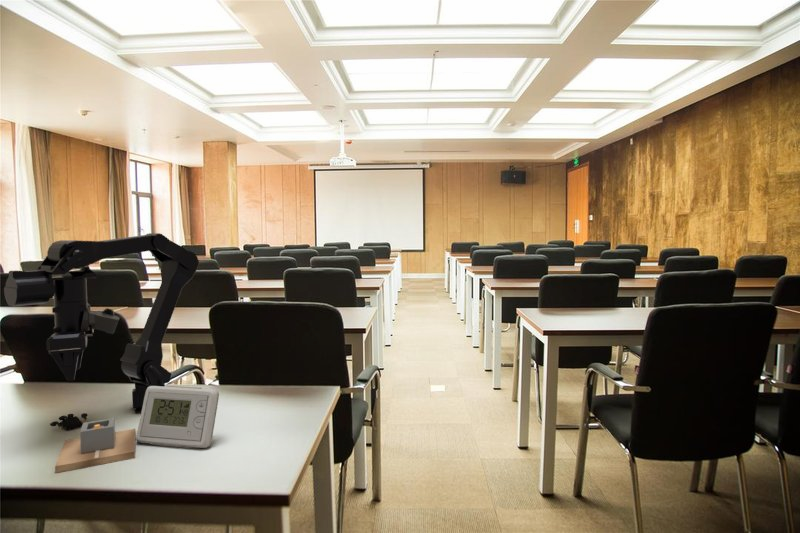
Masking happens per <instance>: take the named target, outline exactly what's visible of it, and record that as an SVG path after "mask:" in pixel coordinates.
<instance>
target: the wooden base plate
mask: <svg viewBox="0 0 800 533" xmlns="http://www.w3.org/2000/svg"><path fill="white" fill-rule="evenodd" d="M100 427H104V426H100ZM93 428H94V427H93ZM115 435H116V439H115V445H114V448H109V449H104V450H98V451H92V452H87V453H81V441H80V437H78V438H77V437H76V438H72V439H65V440H64V442H63V445H62V447H61V450H60V452H59V455H58V458H57V461H56V463H55V465H54V473H55V474H58V473H63V472H68V471H74V470H80V469H84V468H88V467H95V466H100V465H103V464H110V463H114V462H120V461H124V460H130V459H131V460H132V459H134V458H135V459H136V439H137V431H136V428H131V429H125V430H118V431H115Z"/></svg>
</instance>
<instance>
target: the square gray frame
mask: <svg viewBox="0 0 800 533" xmlns="http://www.w3.org/2000/svg"><path fill="white" fill-rule="evenodd" d="M100 426H104V427H100ZM93 427H94V428H93ZM80 428H81V429H80V431H79V436H80V437H79V438H80V441H81V453H87V452H92V451H98V450H104V449H109V448H114V445H115V439H116V435H115V432H116V417H115V418H114V417H113V418H107V419H100V420H93V421H85V422H82V426H81V427H80Z"/></svg>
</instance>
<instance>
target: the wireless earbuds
mask: <svg viewBox="0 0 800 533" xmlns="http://www.w3.org/2000/svg"><path fill="white" fill-rule="evenodd" d="M80 416H81V418H82V419H84V421H85V422H88V418H87V417H88V413H86V412H84V413H81V414H80ZM58 420H59V421H57V420H54V421H52V422H50V423H49V426H51V427H56V426H57V427H58V428H59V429H63V428H64V429H65V430H66V431H67V432H69V431H73V430H76V429H80V428H82V425H83V422H82V421H81V419H80V418H79V417H78V416H76V415H74V413H69V414H66V415H61V416H59V417H58Z"/></svg>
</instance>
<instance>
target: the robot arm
mask: <svg viewBox="0 0 800 533" xmlns="http://www.w3.org/2000/svg"><path fill="white" fill-rule="evenodd" d="M145 252H150V254H151V255H152V256H153V257H154V259H155V260H157V261H158V262H160V263H161V266H160V275H161V276H160V277H161V283H160V286H159V289H158V291H157V294H156V296H155V298H154V301H153V304H152V307H151V309H150V312H149V314H148V317H147V320H146V321H145V324H144V327H143V328H142V329H143V330H142V332H141V333H140V334H141V335H140V336H139V338H138V340H137V341H136V342H135V343H127V344H126V345H125V349H124V353H123V355H122V357H120V361H121V364H120V366H121V370H122V372H123V374H125V375H126V376H127V377H128V378H129V381H130V382H132V383H134V388H133V389H132V390H131V394H132V395H131V396H132V400H131V401H132V409H133V410H134V414H141V412H142V407H143V402H144V397H145V393H146V390H147V388H148V387H149V386H164V387H166V384H167V383H169V382H170V380H171V378H172V372H170V371H169V370H167V369H166V368H165V367H163V366H162V362H163V357H164V354H163V344H162V343H163V340H164V338H165V335H166V332H167V330H168V326H169V324H170V321H171V320H172V317H173V314H174V311H175V309H176V306H177V303H178V300H179V297H180V295H181V293H182V290H183V288H184V286H186V284H188V283H189V282H190V280H192V279H193V277H194V276H195V274H196V272H197V270H198V268H199V265H200V260H199V259H198V256H197V255H196V253H194V252H193V251H191V250H187V249H186V248H185V247H183V246H181V245H180V244H177V243H176V242H174V241H172V240H171V239H169V238H168V237H167V236H166V235H164V234H162V233H158V232H157V233H156V232H155V233H146V234H144V235H136V236H135V235H134V236H128V237H120V238H113V239H105V240H104V239H103V240H67V239H66V240H65V239H64V240H63V239H62V240H58V241H57V240H56V241H54V242H51V244H50V245H49V247H48V249H47V254H46V257H45V258H44V259H43V260H42V262H41V263H40V264H39V265H38V266H37V268H35V270H9V271H8V277H7V279H6V281H5V286H4V288H3V294H4V299H5V301H6V303H7V305H8V306H9V307H10V308H11V307H13V308H14V307H20V306H21V307H22V306H31V305H41V304H47V303H48V302H49V301H50V300H53V307H52V308H51V310H52V314H54V327H53V328H52V330H53V331H52V333H53V334H51V336H49V338H47V340H46V341H45V342H46V351H48V354H50V355H51V357H52V358H53V360H54V361H55V363H56V364H57V366H58V368H59V369H60V371H61V372H62V374H63V375H64V377H65V379H66V380H67V382H71V381H75V379H76V378H75V377H76V372H77V370H80V368H81V365H82V359H83V353H84V351H85V350H86V349H87V347H88V341H90V339H91V338H92V337H93V334H94V332H95V331H94V330H96V331H101V332H104V333H107V334H112V335H114V334H115V332H116V329H117V325H118V323H119V321H120V317H119V316H118V315H115V311H114V309H111V308H104V309H103V310H102V311H101V312H100V311H95V310H91V304H89V303H88V286H87V284H88V283H87V282H88V281H87V279H96V278H98V277H99V275H98V273H96V272H94V271H93V270H92V269H91V268H90V266H91V265H93V264H96V263H97V262H100V261H102V260H104V259H107V258H114V257H119V256H125V255H131V254H136V253H137V254H138V253H145ZM73 269H79V270H73ZM54 275H56V276H54ZM57 275H58V276H57ZM87 333H88V334H87Z"/></svg>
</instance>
